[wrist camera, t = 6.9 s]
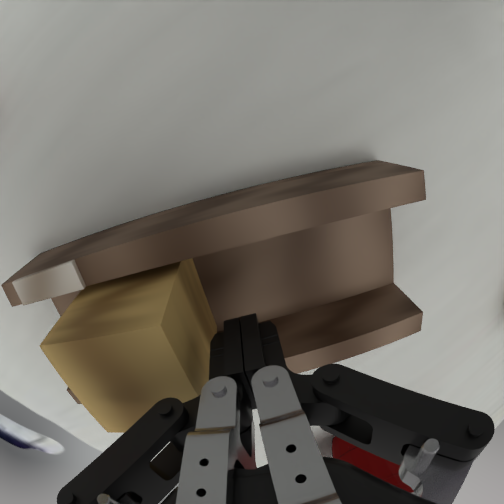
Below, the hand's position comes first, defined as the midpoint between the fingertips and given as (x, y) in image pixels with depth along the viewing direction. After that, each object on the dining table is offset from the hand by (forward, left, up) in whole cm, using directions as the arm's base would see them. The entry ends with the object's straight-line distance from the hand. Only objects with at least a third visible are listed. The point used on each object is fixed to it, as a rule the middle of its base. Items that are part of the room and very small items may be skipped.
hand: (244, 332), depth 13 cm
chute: (0, -2, -6) cm, 6 cm away
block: (0, -5, -5) cm, 7 cm away
